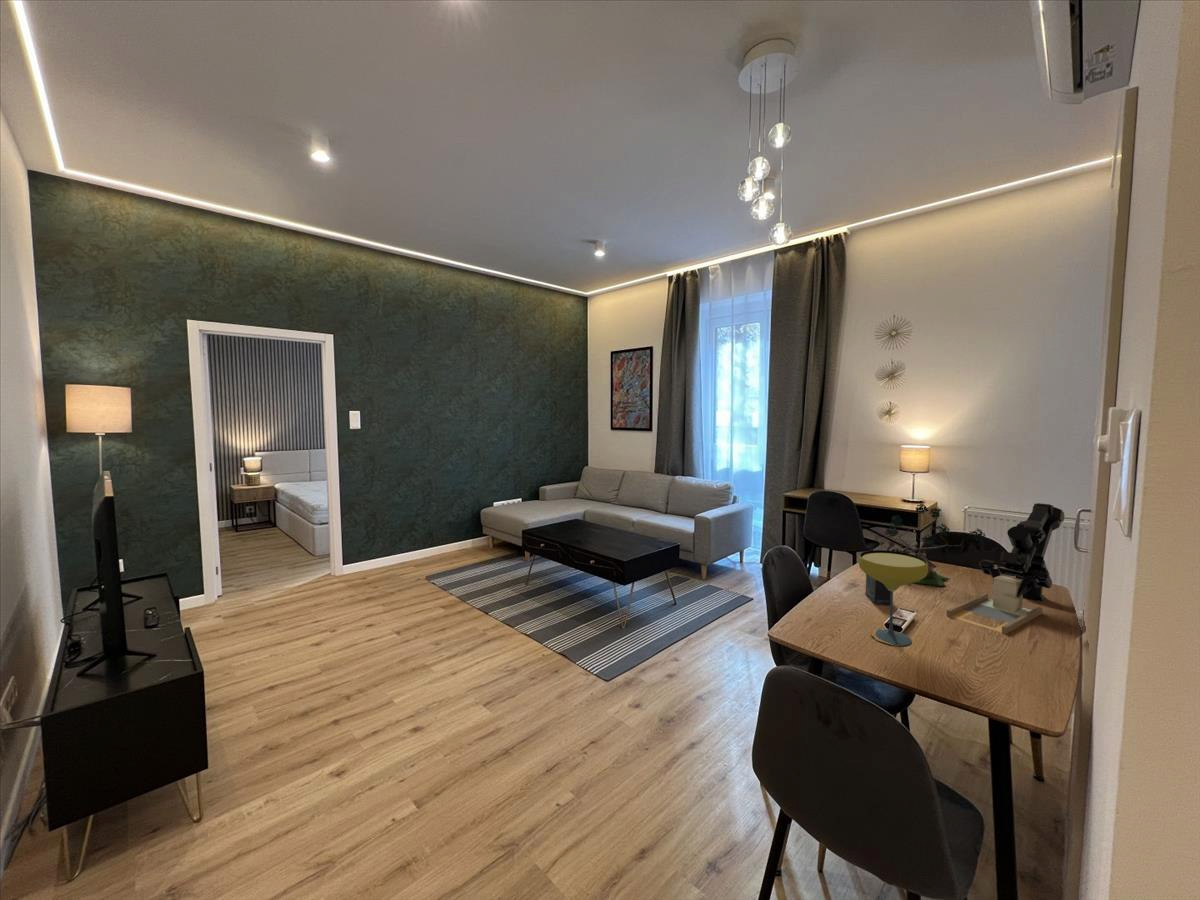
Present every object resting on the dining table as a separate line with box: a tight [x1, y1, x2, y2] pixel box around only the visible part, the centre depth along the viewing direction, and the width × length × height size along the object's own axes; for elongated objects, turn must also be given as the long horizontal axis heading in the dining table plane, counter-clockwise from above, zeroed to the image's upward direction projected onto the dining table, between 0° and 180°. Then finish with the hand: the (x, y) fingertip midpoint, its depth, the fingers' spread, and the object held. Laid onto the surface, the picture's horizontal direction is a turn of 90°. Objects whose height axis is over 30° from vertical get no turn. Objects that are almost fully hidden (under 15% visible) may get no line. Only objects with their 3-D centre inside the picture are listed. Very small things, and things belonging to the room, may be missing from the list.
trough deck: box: [946, 592, 1043, 635], centre depth 161 cm, size 27×16×4 cm, turn 121°
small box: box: [864, 573, 891, 606], centre depth 180 cm, size 11×6×10 cm, turn 168°
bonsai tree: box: [881, 503, 987, 588], centre depth 194 cm, size 35×24×32 cm
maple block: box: [992, 574, 1023, 613], centre depth 166 cm, size 6×6×10 cm
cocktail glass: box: [858, 549, 928, 647], centre depth 149 cm, size 18×18×25 cm
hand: (1005, 593), depth 165 cm, fingers closed on maple block, 6 cm apart
